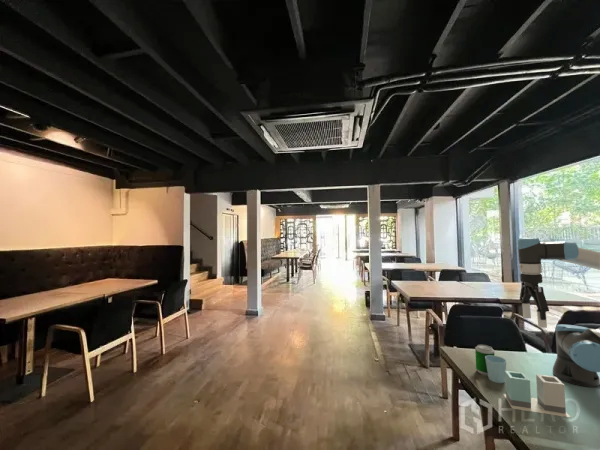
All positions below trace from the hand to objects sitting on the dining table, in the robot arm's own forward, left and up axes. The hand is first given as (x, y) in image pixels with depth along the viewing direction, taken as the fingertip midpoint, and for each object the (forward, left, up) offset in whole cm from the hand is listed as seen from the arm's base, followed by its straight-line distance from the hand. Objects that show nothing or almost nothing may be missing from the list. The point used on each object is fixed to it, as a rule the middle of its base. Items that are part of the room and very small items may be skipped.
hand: (534, 322), depth 124 cm
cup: (+16, +4, -27) cm, 31 cm away
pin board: (+9, +21, -26) cm, 35 cm away
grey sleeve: (+4, +21, -25) cm, 33 cm away
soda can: (+18, -5, -27) cm, 32 cm away
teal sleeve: (+14, +21, -25) cm, 35 cm away
